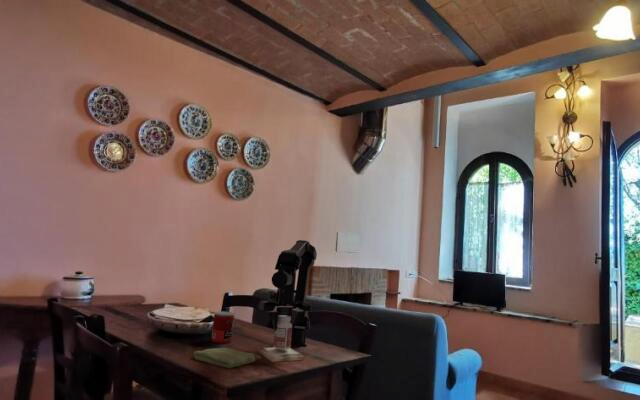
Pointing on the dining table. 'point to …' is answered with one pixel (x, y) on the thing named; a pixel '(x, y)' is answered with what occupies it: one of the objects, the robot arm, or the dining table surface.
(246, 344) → the dining table surface
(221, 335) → the canned food
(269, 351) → the stand
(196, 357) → the washcloth
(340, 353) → the dining table surface
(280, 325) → the pill bottle
